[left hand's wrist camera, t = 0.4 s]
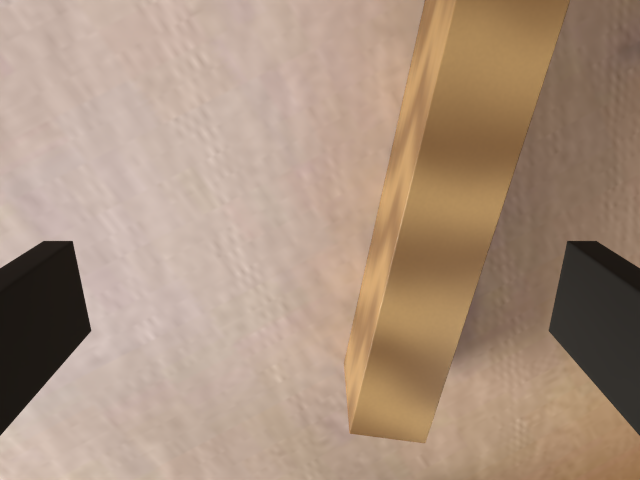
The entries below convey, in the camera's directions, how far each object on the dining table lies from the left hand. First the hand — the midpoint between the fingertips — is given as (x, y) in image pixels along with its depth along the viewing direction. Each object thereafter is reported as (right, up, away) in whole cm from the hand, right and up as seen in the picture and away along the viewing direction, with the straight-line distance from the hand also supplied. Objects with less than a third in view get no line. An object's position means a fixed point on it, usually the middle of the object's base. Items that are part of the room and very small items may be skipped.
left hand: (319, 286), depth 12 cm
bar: (+10, +18, +19) cm, 28 cm away
